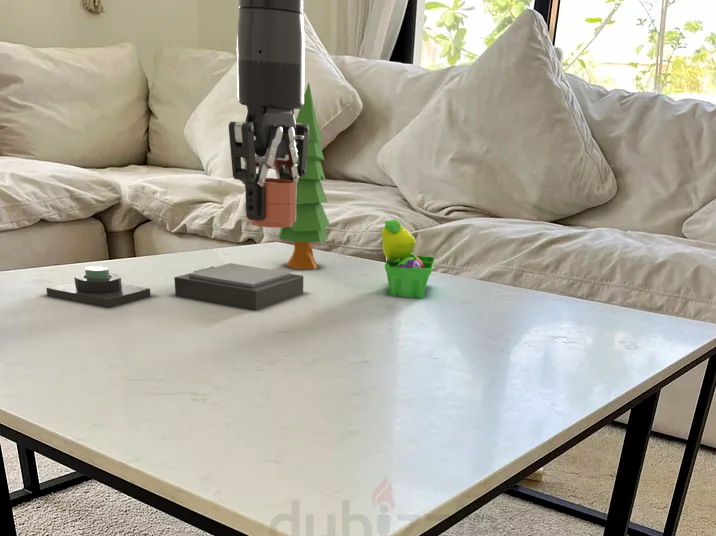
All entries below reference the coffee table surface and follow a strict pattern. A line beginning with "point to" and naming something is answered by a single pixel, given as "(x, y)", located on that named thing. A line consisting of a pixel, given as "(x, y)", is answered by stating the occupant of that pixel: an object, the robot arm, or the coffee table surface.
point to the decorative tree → (308, 196)
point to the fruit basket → (404, 262)
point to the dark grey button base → (98, 291)
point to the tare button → (97, 273)
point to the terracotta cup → (278, 203)
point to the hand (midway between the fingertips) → (271, 216)
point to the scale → (239, 286)
